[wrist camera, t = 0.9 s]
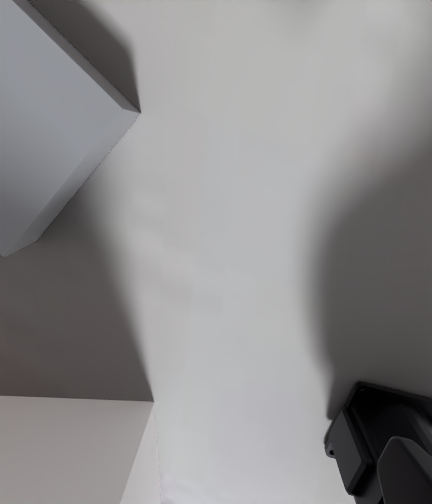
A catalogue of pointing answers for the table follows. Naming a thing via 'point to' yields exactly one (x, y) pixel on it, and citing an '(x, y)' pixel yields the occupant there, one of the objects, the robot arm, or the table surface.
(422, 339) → the table surface
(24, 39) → the plate
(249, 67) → the table surface
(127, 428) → the milk
